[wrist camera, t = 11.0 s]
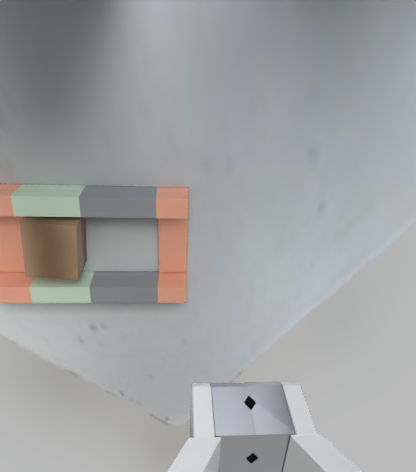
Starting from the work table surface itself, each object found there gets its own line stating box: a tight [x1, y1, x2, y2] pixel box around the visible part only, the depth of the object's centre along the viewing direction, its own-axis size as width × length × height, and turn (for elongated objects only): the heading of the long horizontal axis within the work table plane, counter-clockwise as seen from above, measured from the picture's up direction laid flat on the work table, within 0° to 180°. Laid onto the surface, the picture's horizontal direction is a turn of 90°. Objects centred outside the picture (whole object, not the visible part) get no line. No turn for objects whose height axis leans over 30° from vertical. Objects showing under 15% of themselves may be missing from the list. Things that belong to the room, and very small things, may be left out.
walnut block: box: [20, 216, 86, 280], centre depth 39 cm, size 5×6×4 cm
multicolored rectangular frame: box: [0, 184, 188, 303], centre depth 40 cm, size 20×12×3 cm, turn 87°
